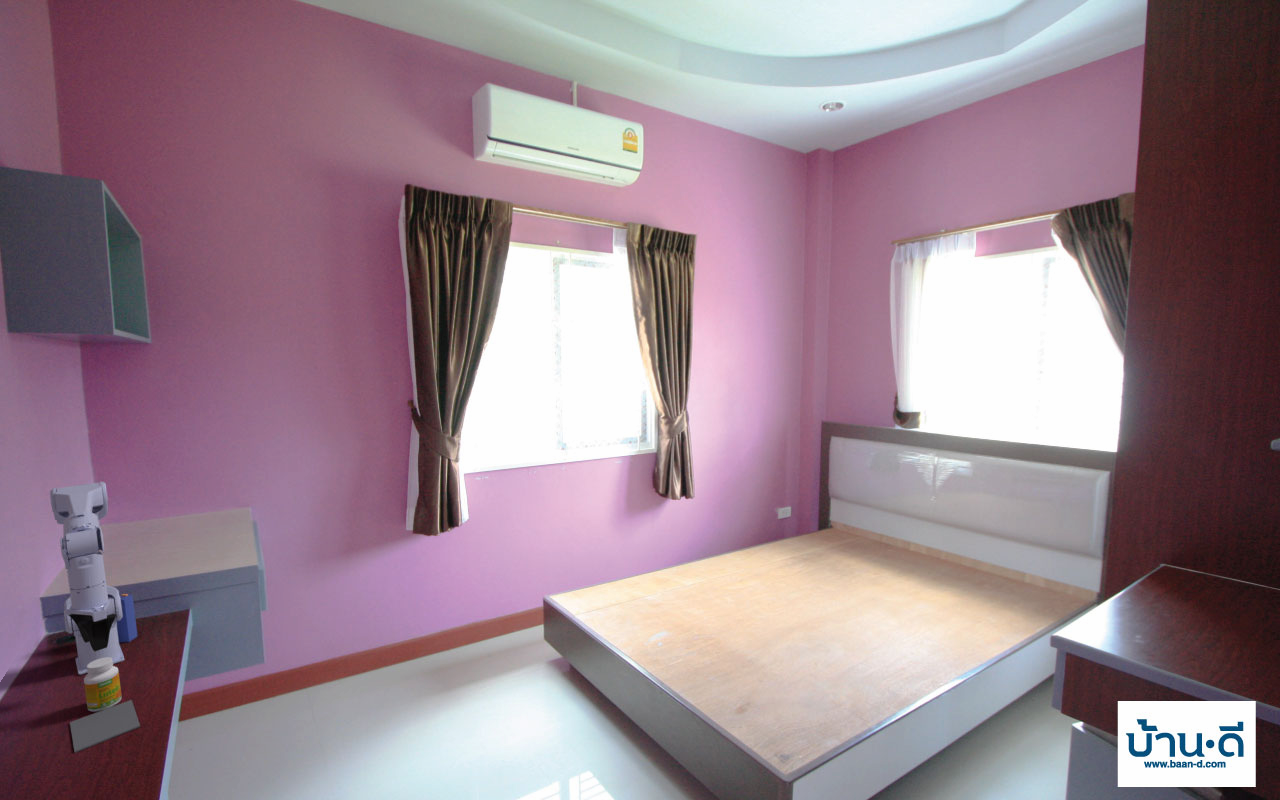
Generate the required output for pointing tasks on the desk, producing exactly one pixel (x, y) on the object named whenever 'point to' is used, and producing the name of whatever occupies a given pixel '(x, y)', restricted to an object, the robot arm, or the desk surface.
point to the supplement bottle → (102, 685)
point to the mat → (103, 725)
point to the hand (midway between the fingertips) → (95, 644)
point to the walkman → (127, 620)
